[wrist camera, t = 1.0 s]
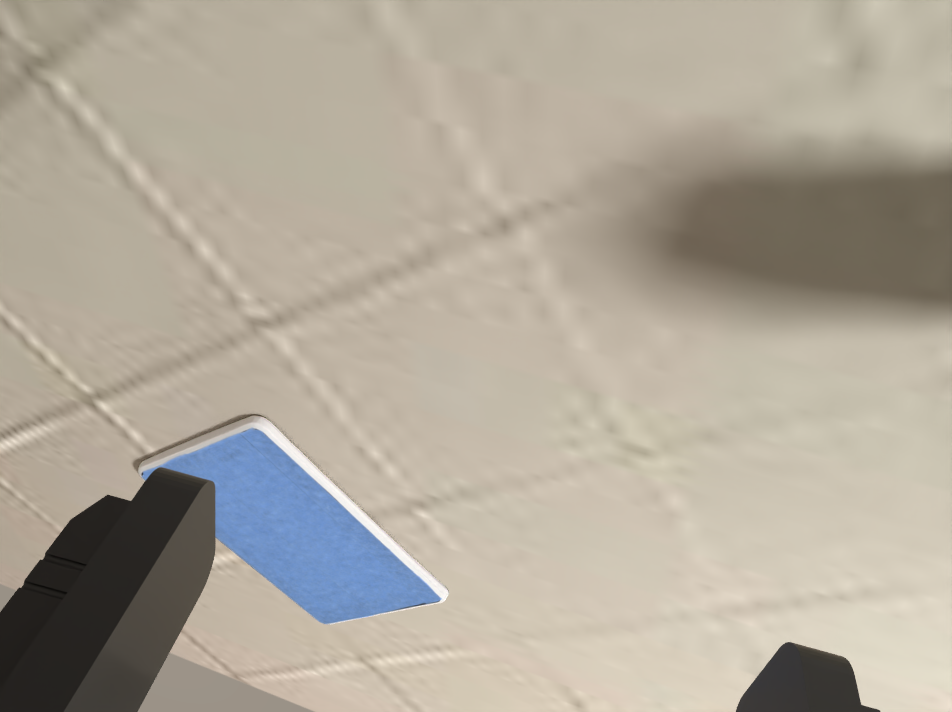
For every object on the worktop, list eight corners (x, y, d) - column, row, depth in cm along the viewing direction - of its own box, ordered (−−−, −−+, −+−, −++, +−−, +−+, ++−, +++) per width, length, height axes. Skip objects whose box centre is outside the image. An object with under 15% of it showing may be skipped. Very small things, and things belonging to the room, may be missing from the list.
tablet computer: (456, 588, 56) (452, 605, 55) (327, 615, 62) (321, 631, 62) (265, 403, 47) (256, 419, 46) (138, 457, 54) (128, 472, 53)
